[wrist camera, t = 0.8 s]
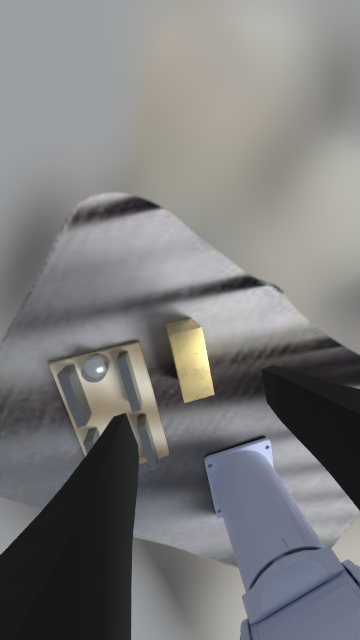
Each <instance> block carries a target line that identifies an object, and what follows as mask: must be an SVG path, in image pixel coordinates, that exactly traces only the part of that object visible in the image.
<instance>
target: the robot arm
mask: <svg viewBox="0 0 360 640" xmlns="http://www.w3.org/2000/svg"><path fill="white" fill-rule="evenodd" d="M262 374H263V381H264V387H265V393H266V399H267V403H268V404H269V406H270V407H271V409H272V410H273V411H274V413H275V414H276V415H277V417H278V418H279V419H280V420H281V421H282V423H283V424H284V425H285V426H286V427H287V428H288V429H289V430H290V431H291V432H292V433H293V434H294V435H295V436H296V437H297V439H298V440H299V441H300V442H301V443H302V444H303V445H304V446H305V447H306V448H307V449H308V450H309V451H310V452H311V453H312V454H313V455H314V456H315V458H316V459H317V460H318V461H319V462H320V463H321V464H322V465H323V466H324V467H325V468H326V470H327V471H328V472H329V473H330V474H331V475H332V477H333V478H334V479H335V480H336V482H337V483H338V484H339V485H340V487H341V488H342V489H343V490H344V491H345V493H346V494H347V495H348V496H349V498H350V499H351V500H352V501H353V503H354V504H355V505H356V507H357V508H358V509H359V510H360V389H357V388H352V387H348V386H344V385H340V384H336V383H332V382H328V381H324V380H320V379H317V378H313V377H310V376H307V375H303V374H300V373H297V372H293V371H290V370H287V369H283V368H280V367H276V366H270V367H267V368H264V369H262ZM204 463H205V467H206V472H207V476H208V481H209V485H210V490H211V494H212V499H213V503H214V508H215V512H216V517H217V519H218V520H223V519H224V522H225V525H226V529H227V532H228V535H229V538H230V542H231V545H232V548H233V551H234V555H235V558H236V561H237V564H238V568H239V571H240V574H241V577H242V580H243V584H244V587H245V590H246V594H244V595H243V596H242V599H243V603H244V606H245V609H246V613H247V616H248V618H247V619H246V620H244V621H243V622H242V623H241V635H240V640H360V567H359V566H357V565H355V564H354V563H353V562H352V561H350V560H345V561H344V562H342V563H341V562H340V561H339V559H338V558H337V556H336V555H335V553H334V552H333V551H332V549H331V548H330V546H326V547H325V546H324V544H323V543H322V541H321V540H320V538H319V537H318V535H317V534H316V532H315V531H314V529H313V528H312V526H311V525H310V523H309V522H308V520H307V519H306V517H305V516H304V514H303V513H302V511H301V509H300V508H299V506H298V505H297V503H296V502H295V500H294V499H293V497H292V496H291V494H290V493H289V491H288V490H287V488H286V487H285V485H284V484H283V482H282V481H281V479H280V478H279V476H278V474H277V473H276V471H275V470H274V467H273V459H272V450H271V442H270V440H269V439H268V438H263V439H260V440H257V441H253V442H250V443H247V444H244V445H241V446H238V447H234V448H231V449H228V450H225V451H222V452H219V453H216V454H212V455H209V456H207V457H205V459H204ZM138 473H139V452H138V444H137V441H136V438H135V436H134V433H133V430H132V428H131V425H130V422H129V420H128V417H127V414H126V413H123V414H120V415H117V416H114V417H113V418H112V419H111V421H110V422H109V424H108V425H107V427H106V428H105V429H104V431H103V432H102V434H101V435H100V437H99V438H98V440H97V441H96V443H95V444H94V445H93V447H92V448H91V450H90V451H89V453H88V454H87V455H86V457H85V458H84V459H83V461H82V462H81V463H80V465H79V466H78V467H77V469H76V470H75V471H74V473H73V474H72V475H71V477H70V478H69V479H68V480H67V482H66V483H65V484H64V485H63V487H62V488H61V489H60V490H59V491H58V493H57V494H56V495H55V496H54V497H53V499H52V500H51V501H50V502H49V503H48V504H47V506H46V507H45V508H44V509H43V510H42V511H41V512H40V514H39V515H38V516H37V517H36V518H35V519H34V520H33V521H32V522H31V523H30V524H29V525H28V526H27V528H26V529H25V530H24V531H23V532H22V533H21V534H20V535H19V536H18V537H17V538H16V539H15V540H14V541H13V542H12V543H11V545H10V546H9V547H8V548H7V549H6V550H5V551H4V552H3V553H2V554H1V555H0V640H131V577H132V575H131V574H132V542H133V541H132V540H133V528H134V517H135V506H136V495H137V484H138Z"/></svg>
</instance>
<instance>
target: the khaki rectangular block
mask: <svg viewBox="0 0 360 640" xmlns="http://www.w3.org/2000/svg"><path fill="white" fill-rule="evenodd" d="M165 326H166V330H167V334H168V338H169V343H170V347H171V351H172V356H173V360H174V364H175V369H176V373H177V377H178V381H179V385H180V389H181V392H182V396H183V399H184V403H186V402H190V401H194V400H197V399H201V398H204V397H208V396H211V395H214V390H213V385H212V379H211V374H210V369H209V363H208V358H207V353H206V347H205V342H204V337H203V331H202V327H201V326H200V325H199V324H198V323H197V322H195V321H194V320H193V319H192V318H189V319H185V320H180V321H176V322H172V323H168V324H165Z"/></svg>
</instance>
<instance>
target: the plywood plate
mask: <svg viewBox="0 0 360 640" xmlns="http://www.w3.org/2000/svg"><path fill="white" fill-rule="evenodd" d="M126 351H128V353H129V357H130V360H131V364H132V367H133V371H134V374H135V378H136V381H137V385H138V388H139V392H140V395H141V399H142V404H141V410H140V411H137V412H133V413H132V411H131V407H130V404H129V401H128V398H127V394H126V391H125V388H124V384H123V381H122V378H121V375H120V371H119V368H118V365H117V361H116V359H117V357H118V355H119V353H122V352H126ZM95 353H101V354H104V355H106V356H107V357H108V358H109V360H110V367H109V369H108V371H107V373H106V375H105V377H104V378H103V379H102V380H101V381H99V382H96V383H92V382H88V381H86V380H85V379H84V378H83V377H82V375H81V367H82V366H83V364H84V363H85V362H86V361H87V359H88V358H89V357H90V356H91V355H93V354H95ZM73 364H74V365H75V367H76V370H77V373H78V376H79V379H80V381H81V384H82V387H83V390H84V392H85V395H86V398H87V401H88V404H89V406H90V409H91V412H92V415H91V417H90V419H89V421H88V424H87V426H83V427H80V428H77V426H76V424H75V421H74V419H73V416H72V413H71V411H70V408H69V406H68V403H67V401H66V398H65V395H64V393H63V390H62V388H61V385H60V383H59V380H58V377H57V374H58V373H59V372H60V371H61V370H62V369H63V368H64V367H65V366H69V365H73ZM49 366H50V368H51V371H52V373H53V376H54V379H55V381H56V384H57V386H58V389H59V391H60V394H61V396H62V399H63V401H64V404H65V407H66V409H67V412H68V414H69V417H70V419H71V422H72V424H73V427H74V429H75V432H76V434H77V437H78V440H79V442H80V445H81V447H82V450H83V452H84V455H85V457H86V455H87V452H86V449H85V447H84V444H83V442H84V440H85V437H86V435H87V432H88V430H89V429H93V428H96V427H97V428H98V431H99V434H100V435H101V434H102V432H103V431H104V429H105V428H106V427H107V425H108V424H109V422H110V421H111V419H112V418H113V417H114V416H117V415H120V414H123V413H126V414H127V417H128V420H129V422H130V425H131V428H132V430H133V433H134V436H135V438H136V441H137V444H138V452H139V456H140V464H143V463H147V460H146V457H145V453H144V450H143V447H142V443H141V440H140V437H139V434H138V430H137V419H138V416H139V415H142V414H146V416H147V420H148V423H149V427H150V430H151V434H152V437H153V440H154V444H155V447H156V451H157V454H158V459H160V458H163V457H166V456H169V455H170V453H169V448H168V444H167V441H166V437H165V433H164V429H163V426H162V422H161V418H160V414H159V411H158V407H157V403H156V400H155V396H154V392H153V388H152V385H151V381H150V377H149V373H148V370H147V366H146V362H145V358H144V355H143V351H142V347H141V344H140V341H137V342H133V343H129V344H124V345H120V346H116V347H112V348H108V349H104V350H100V351H96V352H92V353H87V354H83V355H79V356H75V357H71V358H67V359H63V360H59V361H54V362H52V363H51V364H49Z"/></svg>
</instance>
